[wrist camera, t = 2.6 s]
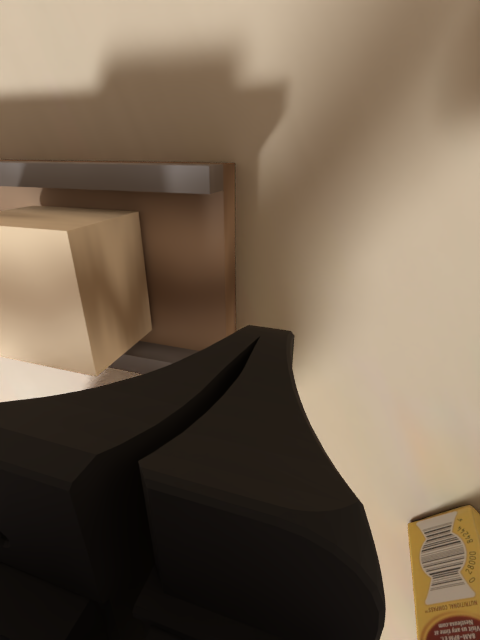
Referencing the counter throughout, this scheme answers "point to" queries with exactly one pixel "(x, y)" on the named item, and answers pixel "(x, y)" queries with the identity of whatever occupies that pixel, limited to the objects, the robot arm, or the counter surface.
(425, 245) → the counter surface
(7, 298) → the beige box
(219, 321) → the guide track
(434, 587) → the candy box
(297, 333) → the counter surface
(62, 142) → the counter surface
